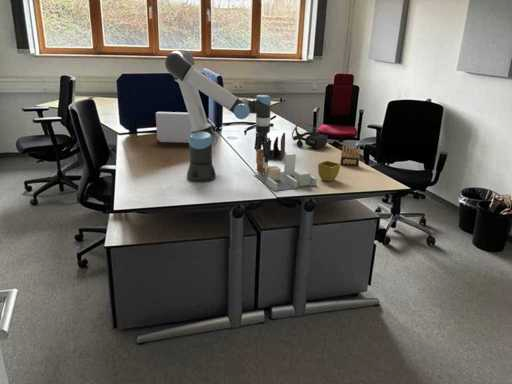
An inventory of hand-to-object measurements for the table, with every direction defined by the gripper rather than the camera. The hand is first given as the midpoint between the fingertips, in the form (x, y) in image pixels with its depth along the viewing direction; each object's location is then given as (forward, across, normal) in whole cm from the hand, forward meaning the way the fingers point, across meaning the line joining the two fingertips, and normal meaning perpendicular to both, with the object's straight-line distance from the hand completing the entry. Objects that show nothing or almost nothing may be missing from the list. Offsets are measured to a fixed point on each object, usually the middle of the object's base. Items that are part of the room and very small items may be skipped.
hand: (261, 165), depth 234 cm
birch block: (+3, -8, 0) cm, 9 cm away
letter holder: (+4, +27, -21) cm, 34 cm away
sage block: (+3, -20, -11) cm, 23 cm away
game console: (+4, +81, +28) cm, 86 cm away
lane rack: (+4, -18, -6) cm, 19 cm away
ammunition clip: (+4, -6, -54) cm, 54 cm away
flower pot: (+4, -24, -28) cm, 37 cm away
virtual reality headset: (+4, +43, -54) cm, 69 cm away
